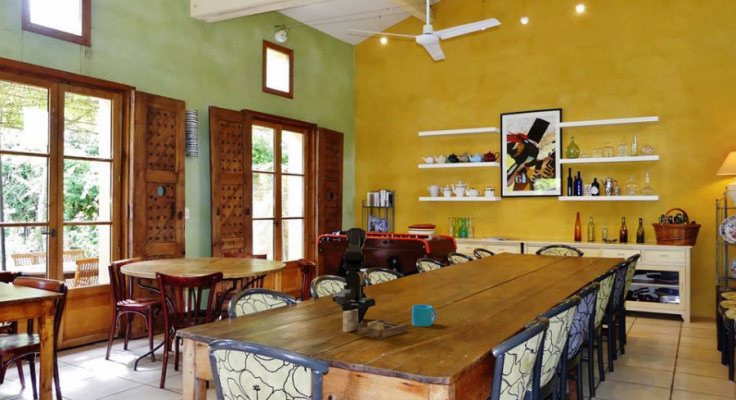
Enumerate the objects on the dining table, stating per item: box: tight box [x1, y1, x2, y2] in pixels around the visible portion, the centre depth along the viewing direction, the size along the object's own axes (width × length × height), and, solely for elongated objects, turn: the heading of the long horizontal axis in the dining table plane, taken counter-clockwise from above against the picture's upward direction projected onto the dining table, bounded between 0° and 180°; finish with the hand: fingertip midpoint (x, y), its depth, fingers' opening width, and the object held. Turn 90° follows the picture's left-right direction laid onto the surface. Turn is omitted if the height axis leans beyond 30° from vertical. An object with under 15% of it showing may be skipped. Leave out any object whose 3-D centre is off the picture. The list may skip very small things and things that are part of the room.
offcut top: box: [367, 320, 384, 330], centre depth 206 cm, size 5×4×2 cm
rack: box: [354, 319, 410, 339], centre depth 209 cm, size 14×18×3 cm
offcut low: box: [365, 327, 384, 335], centre depth 206 cm, size 7×4×2 cm, turn 47°
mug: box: [411, 304, 437, 327], centre depth 224 cm, size 12×8×8 cm
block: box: [342, 309, 363, 333], centre depth 212 cm, size 9×2×8 cm, turn 137°
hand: (353, 321), depth 212 cm, fingers open, 7 cm apart
